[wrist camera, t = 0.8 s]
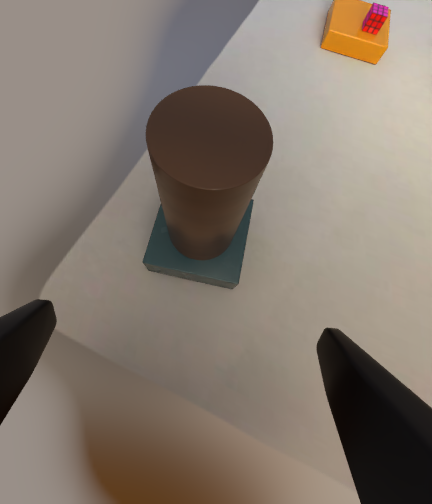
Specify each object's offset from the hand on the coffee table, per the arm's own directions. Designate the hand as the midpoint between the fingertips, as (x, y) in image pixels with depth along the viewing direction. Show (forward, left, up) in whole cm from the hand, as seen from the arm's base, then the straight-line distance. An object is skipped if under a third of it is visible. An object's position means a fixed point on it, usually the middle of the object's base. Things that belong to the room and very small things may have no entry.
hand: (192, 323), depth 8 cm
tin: (+8, +1, -14) cm, 16 cm away
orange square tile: (+43, -13, -14) cm, 47 cm away
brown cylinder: (+8, +1, -11) cm, 14 cm away
